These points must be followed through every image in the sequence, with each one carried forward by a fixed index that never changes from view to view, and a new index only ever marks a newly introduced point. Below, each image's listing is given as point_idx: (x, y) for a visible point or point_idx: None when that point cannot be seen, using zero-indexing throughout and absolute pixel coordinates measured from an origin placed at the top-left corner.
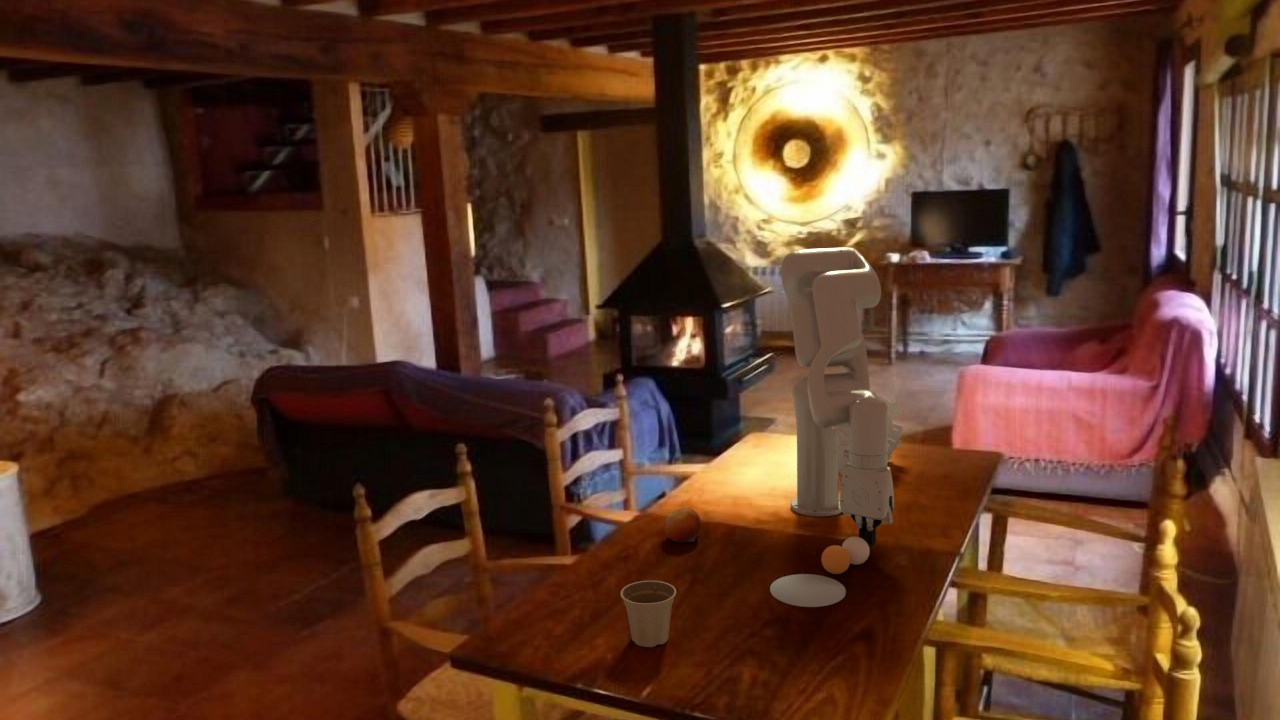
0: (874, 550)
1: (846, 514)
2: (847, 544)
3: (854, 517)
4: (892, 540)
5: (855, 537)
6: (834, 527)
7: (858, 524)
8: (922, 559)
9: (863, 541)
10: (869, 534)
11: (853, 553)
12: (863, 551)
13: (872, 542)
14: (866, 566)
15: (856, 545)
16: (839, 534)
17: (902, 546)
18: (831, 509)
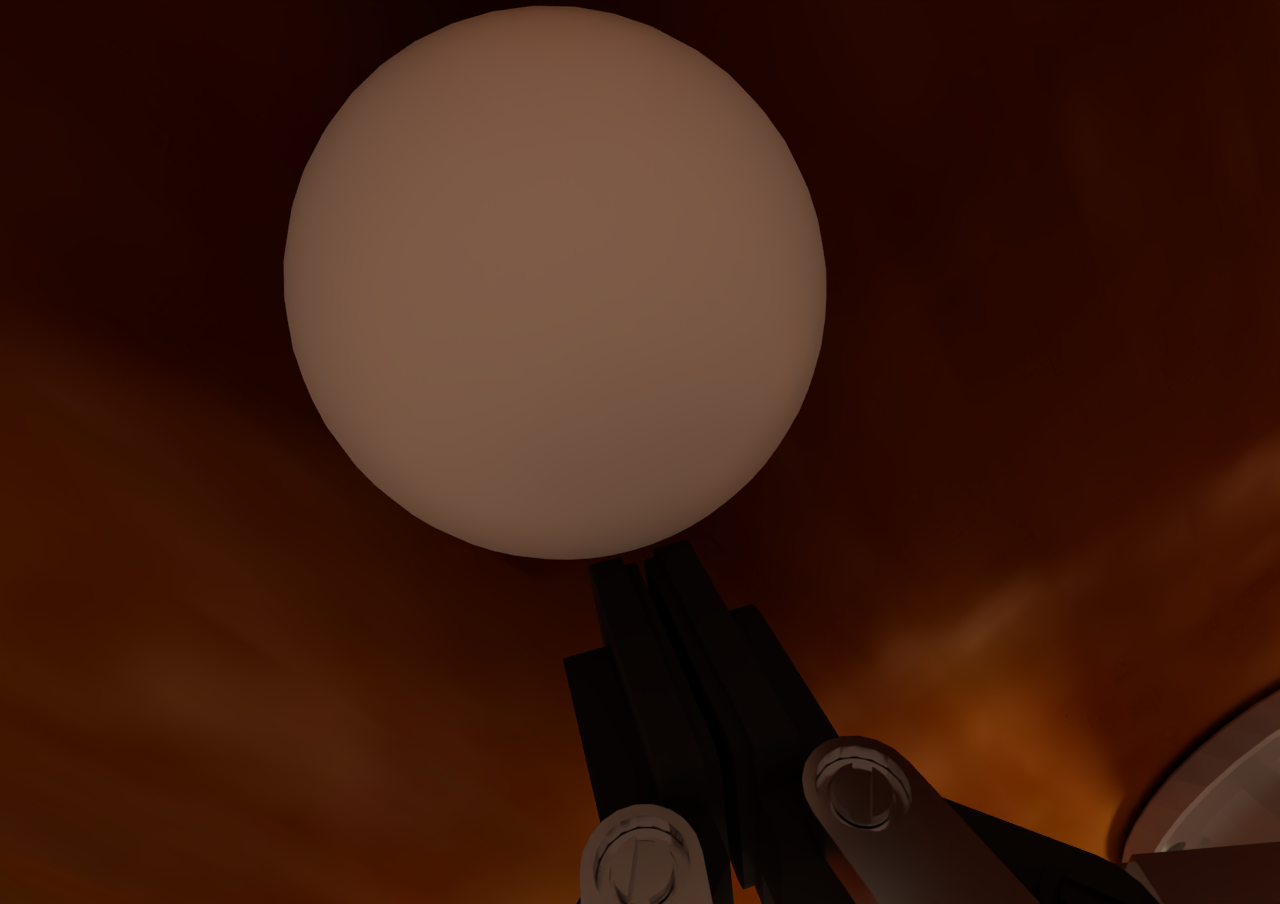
0: None
1: (1241, 860)
2: (645, 97)
3: (1062, 901)
4: None
5: (625, 403)
6: (1096, 693)
7: (882, 803)
8: (146, 858)
9: (423, 455)
10: (634, 755)
11: (410, 55)
12: (286, 258)
13: (568, 680)
14: None
15: (409, 180)
16: (1023, 647)
17: (509, 863)
18: (1204, 818)
